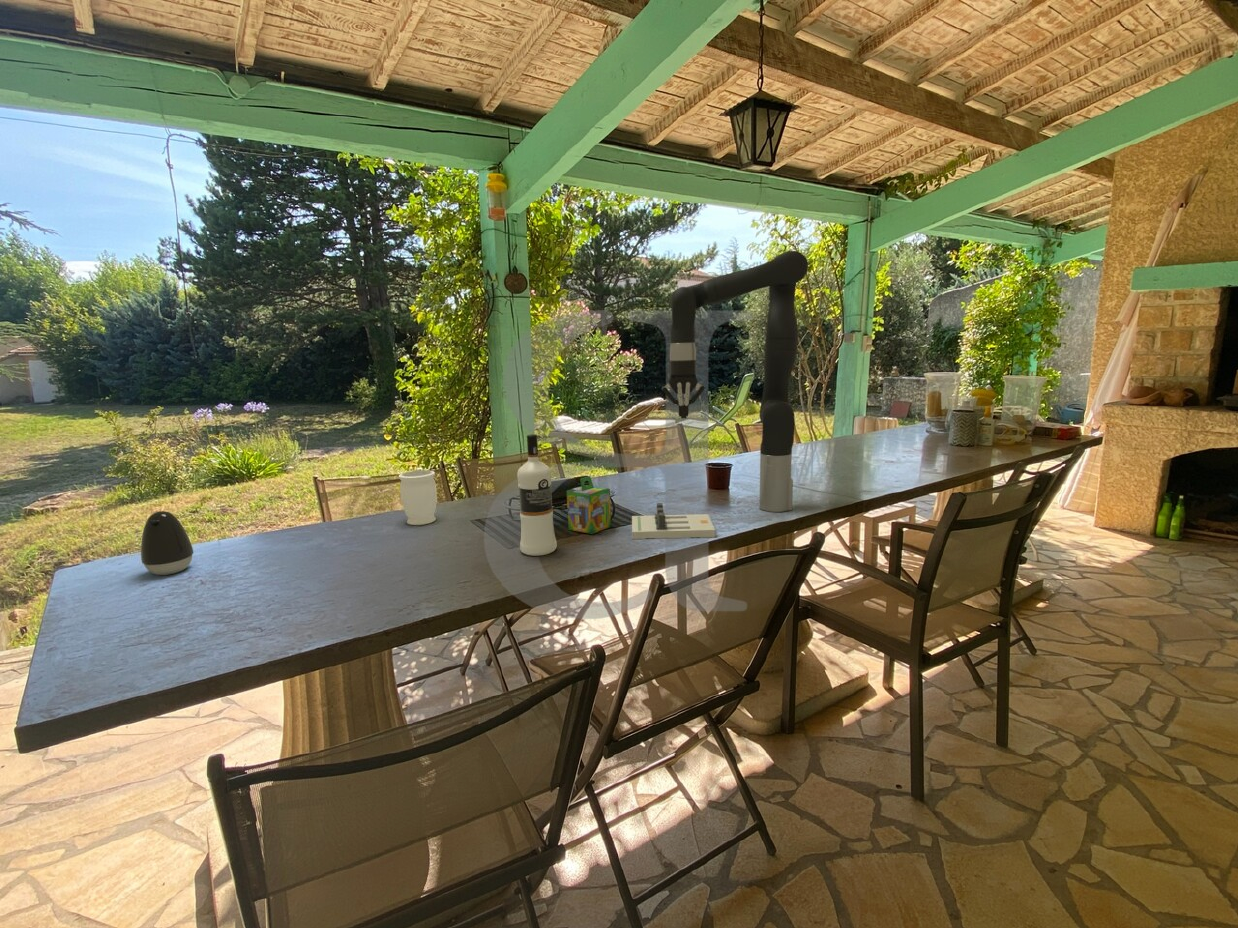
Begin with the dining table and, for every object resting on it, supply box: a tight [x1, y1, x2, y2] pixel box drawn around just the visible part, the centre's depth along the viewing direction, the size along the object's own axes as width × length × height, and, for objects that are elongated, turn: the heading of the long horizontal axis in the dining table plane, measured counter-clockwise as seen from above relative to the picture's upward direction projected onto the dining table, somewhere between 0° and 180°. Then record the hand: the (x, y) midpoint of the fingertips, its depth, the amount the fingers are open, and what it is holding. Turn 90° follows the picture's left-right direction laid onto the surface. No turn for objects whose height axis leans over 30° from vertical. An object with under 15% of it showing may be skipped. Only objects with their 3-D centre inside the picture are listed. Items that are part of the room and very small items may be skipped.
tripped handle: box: [655, 507, 666, 524], centre depth 168 cm, size 3×3×4 cm
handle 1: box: [654, 502, 664, 518], centre depth 173 cm, size 3×3×4 cm
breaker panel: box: [631, 513, 716, 540], centre depth 169 cm, size 22×15×2 cm
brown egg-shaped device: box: [140, 510, 194, 576], centre depth 147 cm, size 10×10×15 cm
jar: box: [398, 469, 438, 526], centre depth 183 cm, size 11×10×15 cm
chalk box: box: [566, 475, 612, 535], centre depth 171 cm, size 9×9×15 cm
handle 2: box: [656, 512, 667, 529], centre depth 164 cm, size 3×3×4 cm
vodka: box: [516, 433, 558, 557], centre depth 152 cm, size 9×9×30 cm
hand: (683, 418), depth 180 cm, fingers closed
